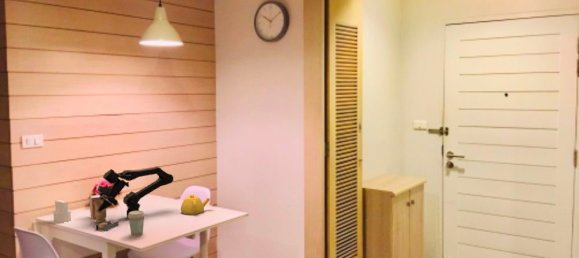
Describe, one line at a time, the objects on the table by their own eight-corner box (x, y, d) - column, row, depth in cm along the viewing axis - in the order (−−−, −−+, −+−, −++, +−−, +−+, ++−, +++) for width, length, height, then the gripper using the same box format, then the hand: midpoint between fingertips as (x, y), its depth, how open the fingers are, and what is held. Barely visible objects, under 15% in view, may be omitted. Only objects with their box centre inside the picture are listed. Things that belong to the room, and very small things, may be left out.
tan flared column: (103, 219, 272) (102, 199, 270) (105, 221, 269) (104, 200, 268) (95, 221, 269) (94, 200, 268) (97, 222, 266) (96, 201, 265)
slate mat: (106, 221, 273) (106, 220, 273) (107, 224, 267) (107, 223, 267) (93, 222, 271) (93, 221, 271) (94, 225, 264) (94, 224, 264)
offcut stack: (103, 228, 260) (103, 222, 259) (108, 229, 259) (108, 222, 258) (98, 230, 256) (97, 224, 256) (103, 231, 255) (102, 224, 254)
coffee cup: (138, 237, 243) (137, 215, 242) (125, 236, 246) (124, 213, 245) (148, 233, 251) (148, 211, 249) (135, 231, 254) (135, 209, 253)
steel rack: (110, 224, 266) (109, 220, 266) (118, 225, 264) (118, 221, 264) (95, 230, 256) (95, 225, 256) (104, 231, 254) (104, 226, 254)
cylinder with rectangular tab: (74, 220, 275) (73, 200, 274) (59, 224, 268) (58, 203, 267) (65, 218, 280) (64, 198, 279) (50, 221, 273) (49, 201, 272)
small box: (92, 219, 277) (91, 197, 276) (90, 217, 282) (89, 195, 281) (106, 217, 281) (106, 196, 280) (104, 215, 287) (103, 194, 286)
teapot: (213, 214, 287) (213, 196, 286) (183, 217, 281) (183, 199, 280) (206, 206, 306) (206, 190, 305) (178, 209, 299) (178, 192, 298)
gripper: (100, 177, 276) (82, 199, 270) (111, 182, 262) (91, 205, 256) (115, 188, 282) (96, 210, 276) (125, 194, 267) (107, 216, 262)
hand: (97, 210), depth 267 cm, fingers closed on tan flared column, 3 cm apart
